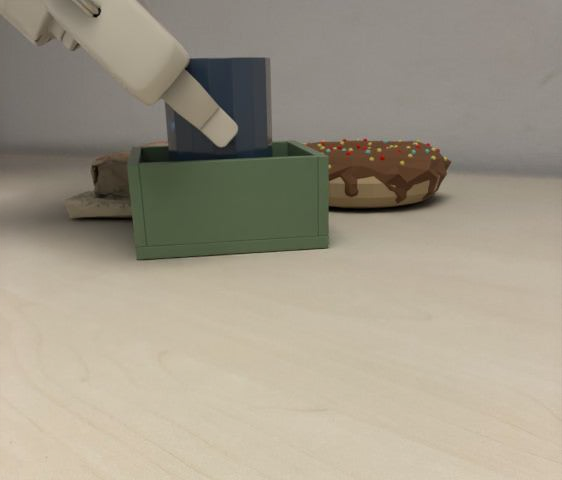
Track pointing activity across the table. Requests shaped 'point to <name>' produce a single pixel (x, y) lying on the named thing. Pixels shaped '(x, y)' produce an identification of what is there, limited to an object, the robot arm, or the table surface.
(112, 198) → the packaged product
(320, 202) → the tub
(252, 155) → the cup
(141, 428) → the table surface
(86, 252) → the table surface
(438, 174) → the donut
